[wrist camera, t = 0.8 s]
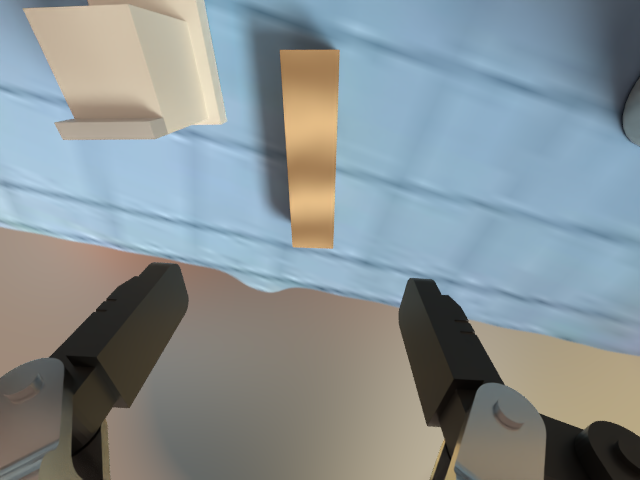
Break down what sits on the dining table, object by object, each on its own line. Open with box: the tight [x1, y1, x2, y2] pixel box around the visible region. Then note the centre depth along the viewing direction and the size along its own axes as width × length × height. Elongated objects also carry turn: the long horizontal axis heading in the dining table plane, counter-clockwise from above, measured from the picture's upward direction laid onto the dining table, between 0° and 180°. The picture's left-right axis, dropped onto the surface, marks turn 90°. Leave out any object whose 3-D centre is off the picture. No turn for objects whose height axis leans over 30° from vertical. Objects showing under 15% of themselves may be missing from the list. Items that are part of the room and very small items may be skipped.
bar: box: [280, 50, 339, 249], centre depth 24 cm, size 16×4×4 cm, turn 0°
